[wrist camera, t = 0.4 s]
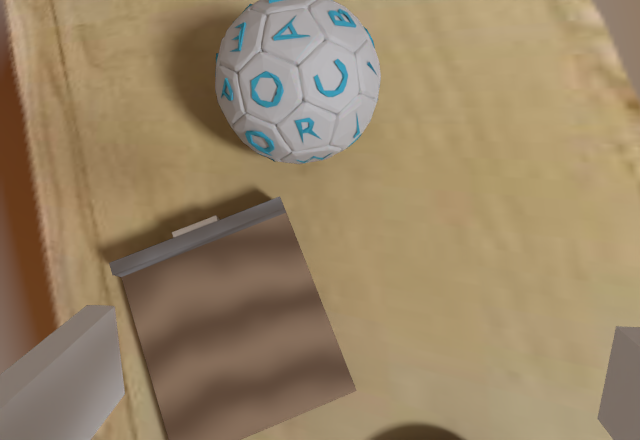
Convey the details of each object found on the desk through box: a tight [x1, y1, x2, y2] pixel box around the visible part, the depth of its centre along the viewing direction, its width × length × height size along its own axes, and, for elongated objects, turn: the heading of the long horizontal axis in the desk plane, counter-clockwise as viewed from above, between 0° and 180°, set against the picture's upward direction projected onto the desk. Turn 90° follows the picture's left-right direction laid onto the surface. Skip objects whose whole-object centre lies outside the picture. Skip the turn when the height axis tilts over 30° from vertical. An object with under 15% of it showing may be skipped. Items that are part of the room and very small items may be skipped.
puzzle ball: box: [215, 0, 381, 164], centre depth 42 cm, size 15×15×15 cm
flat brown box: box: [109, 197, 356, 440], centre depth 43 cm, size 20×17×4 cm
